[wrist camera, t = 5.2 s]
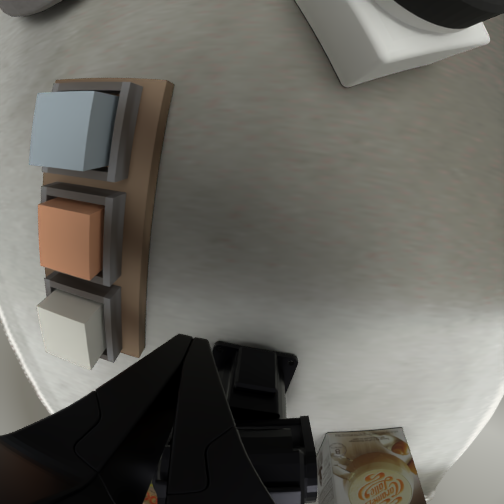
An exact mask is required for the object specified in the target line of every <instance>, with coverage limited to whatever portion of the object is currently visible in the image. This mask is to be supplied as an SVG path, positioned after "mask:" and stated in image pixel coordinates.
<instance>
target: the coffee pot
mask: <svg viewBox="0 0 504 504" xmlns="http://www.w3.org/2000/svg"><path fill="white" fill-rule="evenodd" d="M61 1H62V0H0V8H1V9H2V11H3V12H4V13H6V14H8V15H10V16H12V17H16V16H28V15H32V14H35V13H38V12H41V11H44V10H46V9H48V8H50V7H52V6H53V5H55V4H57V3H59V2H61Z"/></svg>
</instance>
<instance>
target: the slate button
mask: <svg viewBox="0 0 504 504" xmlns="http://www.w3.org/2000/svg"><path fill="white" fill-rule="evenodd" d="M118 101H119V96H115V95H110V94H106V93H102V92H97V91H66V92H46V93H38V95H37V100H36V106H35V112H34V119H33V127H32V135H31V145H30V157H29V165H35V166H44V167H52V168H61V169H69V170H76V171H87V170H91V169H95V168H100V167H104V166H109V158H110V150H111V143H112V136H113V130H114V124H115V118H116V112H117V107H118Z"/></svg>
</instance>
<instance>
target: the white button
mask: <svg viewBox="0 0 504 504" xmlns="http://www.w3.org/2000/svg"><path fill="white" fill-rule="evenodd" d="M37 312H38V318H39V323H40V328H41V333H42V337H43V342H44V346H45V350H46V352H47V353H49V354H52V355H54V356H56V357H59V358H61V359H63V360H66V361H68V362H71V363H73V364H76V365H78V366H81V367H83V368H86V369H88V370H92V368H93V367H94V365H95V364H96V362H97V361H98V359H99V358H100V356H101V355H102V353H103V352H104V350H105V349H106V347H107V346H106V334H105V320H104V304H103V303H100V302H96V301H93V300H90V299H87V298H84V297H80V296H77V295H74V294H71V293H68V292H65V291H62V290H59V289H56V290H54V291H53V292H52V293H51V294H50V295H49V296H47V297H46V298H45V299H44V300H43V301H42V302H41V303H39V304H38V305H37Z"/></svg>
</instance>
